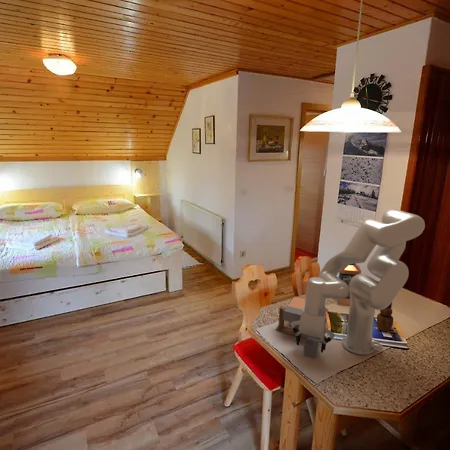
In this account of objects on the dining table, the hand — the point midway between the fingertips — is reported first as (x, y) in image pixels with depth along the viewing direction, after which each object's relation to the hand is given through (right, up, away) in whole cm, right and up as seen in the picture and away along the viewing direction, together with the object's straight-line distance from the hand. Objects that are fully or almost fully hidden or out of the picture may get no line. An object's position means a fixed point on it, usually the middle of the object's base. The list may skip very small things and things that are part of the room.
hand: (310, 346), depth 131 cm
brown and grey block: (+1, +9, +16) cm, 18 cm away
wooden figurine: (+38, +1, +18) cm, 42 cm away
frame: (-1, 0, +14) cm, 14 cm away
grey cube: (+1, -3, +1) cm, 3 cm away
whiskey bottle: (+31, +8, +43) cm, 54 cm away
